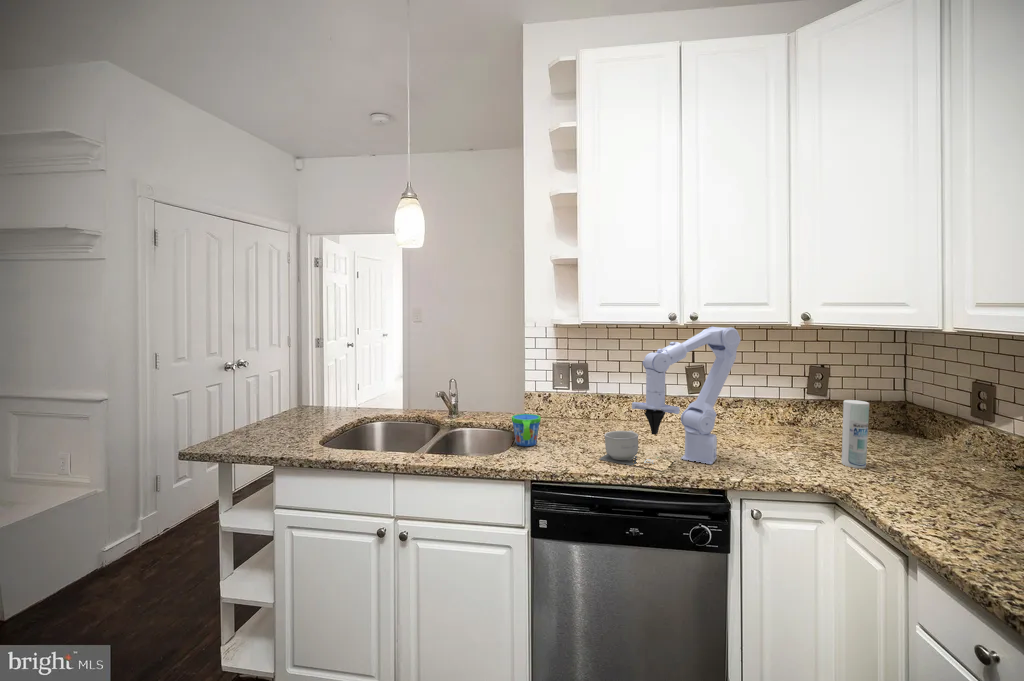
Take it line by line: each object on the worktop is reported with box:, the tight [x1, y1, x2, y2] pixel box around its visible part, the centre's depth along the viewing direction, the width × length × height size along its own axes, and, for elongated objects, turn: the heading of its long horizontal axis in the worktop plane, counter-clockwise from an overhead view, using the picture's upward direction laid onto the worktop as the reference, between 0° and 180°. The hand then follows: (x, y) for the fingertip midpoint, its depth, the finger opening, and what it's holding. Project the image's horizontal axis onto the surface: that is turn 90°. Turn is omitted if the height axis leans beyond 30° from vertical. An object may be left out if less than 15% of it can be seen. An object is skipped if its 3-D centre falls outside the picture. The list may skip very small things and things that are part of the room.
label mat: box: [598, 453, 654, 466], centre depth 153 cm, size 21×13×1 cm, turn 56°
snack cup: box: [511, 413, 542, 447], centre depth 171 cm, size 16×10×10 cm
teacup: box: [604, 430, 639, 460], centre depth 155 cm, size 14×11×8 cm
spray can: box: [841, 399, 870, 469], centre depth 147 cm, size 6×6×20 cm
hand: (654, 433), depth 149 cm, fingers closed
